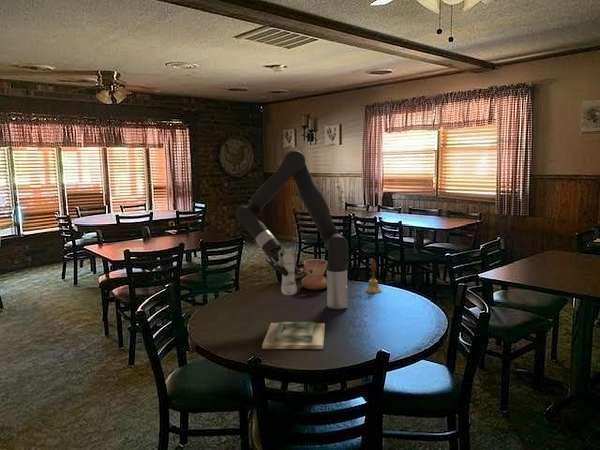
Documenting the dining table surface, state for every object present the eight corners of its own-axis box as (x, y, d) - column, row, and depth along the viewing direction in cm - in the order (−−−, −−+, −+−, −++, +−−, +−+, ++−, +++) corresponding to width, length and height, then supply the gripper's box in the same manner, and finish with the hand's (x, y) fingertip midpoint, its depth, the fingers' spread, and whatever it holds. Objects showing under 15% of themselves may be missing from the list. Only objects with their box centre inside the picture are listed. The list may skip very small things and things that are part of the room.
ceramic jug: (305, 293, 238) (305, 266, 236) (295, 286, 251) (295, 259, 249) (337, 289, 244) (338, 263, 242) (326, 282, 258) (326, 257, 255)
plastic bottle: (285, 297, 195) (283, 250, 192) (278, 293, 201) (276, 247, 198) (299, 295, 198) (298, 248, 195) (292, 291, 204) (290, 245, 201)
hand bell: (363, 289, 243) (363, 258, 241) (379, 288, 244) (379, 257, 242) (367, 293, 235) (367, 262, 233) (383, 292, 236) (383, 261, 233)
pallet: (324, 326, 192) (324, 318, 192) (322, 349, 170) (322, 339, 170) (271, 326, 194) (270, 318, 194) (262, 348, 172) (262, 339, 172)
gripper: (262, 240, 194) (286, 271, 190) (283, 234, 206) (306, 264, 201) (252, 251, 198) (276, 283, 193) (274, 245, 210) (296, 274, 205)
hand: (291, 273), depth 197 cm, fingers closed on plastic bottle, 6 cm apart
